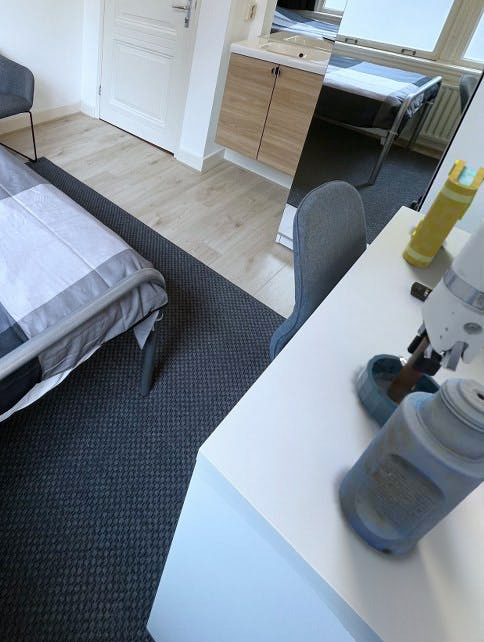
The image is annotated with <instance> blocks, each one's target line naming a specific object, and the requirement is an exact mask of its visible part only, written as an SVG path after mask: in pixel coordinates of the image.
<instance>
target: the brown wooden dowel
mask: <svg viewBox="0 0 484 642" xmlns="http://www.w3.org/2000/svg"><path fill="white" fill-rule="evenodd" d="M430 343H431V342H430V339H429V336H428V335H426V336H425V337H424V339H423V340H422V342H421V343H420V344H419V346H418V347H417V348H416V350H415V351H414V353H413V354H410V356H409V357H410V358H409V357H408V358H409V360H408V361H407V362H406V364H405V365H404V367H403V368H402V369H401V371H400V372H399V373H398V375H397V376H396V378H395V379H394V380H393V382H390V384H389V386H388V387H387V389H386V392H387V394H388V396H389V397H390V398H391V399H392V400H393V401H395V402H398V403H401V402H402V401H403V399H404V398H405V397H406V395H407V393H408V392H409V391H411V389H412V388H413V387H414V386H415V385H416V383H417V382H418V381H419V379H420V378H421V377H422V375H423V374H424V373H421V372H419V371H416V370H414V369H412V366H411V365H412V363H413V362H414V360H415V359H416V358H417V356H418V355H419V354H420V352H421V351H423V352H425V350H426V349H427V347H428V346H429V344H430ZM435 353H437V352H436V351H435ZM438 354H440V353H438ZM407 396H408V395H407Z"/></svg>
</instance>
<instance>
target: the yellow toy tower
mask: <svg viewBox="0 0 484 642" xmlns="http://www.w3.org/2000/svg"><path fill="white" fill-rule="evenodd" d="M466 164H467V161H465V160H462V159H460V158H457V159H456V160H455V162H454V163H453V165H452V167H451V169H450V171H449V172H448V174H447V176H448V177H447V179H446V181H445V182H444V184H443V185H442V187H441V188H440V190H439V193H438V194H437V196H436V198H435V199H434V201H433V202H432V203H431V206H430V208H429V209H428V211H427V213H426V214H425V215H424V217H423V218H421V219H420V222H419V223H418V225H417V226H416V228H415V229H414V231H413V232H412V234H411V236H410V238H411V239H410V241H409V242H408V244H407V245H406V248H405V249H404V251H403V252H402V258H403V259H404V260H405V261H406V262H408V263H409V264H411V265H412V266H414V267H416V268H421V269H426V268H428V267H429V266H430V264H431V263H432V261H433V260H434V258H435V257H436V255H437V253H438V252H439V250H440V249H441V247H442V246H443V244H444V242H445V241H446V239H447V238H448V236H449V235H450V233H451V231H452V230H453V228H454V227H455V225H456V224H457V222H458V221H461V220H462V219H463V217H464V216H465V214H466V213H467V211H468V210H469V208H470V207H471V205H472V203H473V201H474V198H475V197H476V195H477V193H478V191H479V188H480V187H481V185H482V183H483V182H484V167H483V166H480V167H479V168H478V169H476V168H475V169H474V168H472V167H469V166H466Z"/></svg>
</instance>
